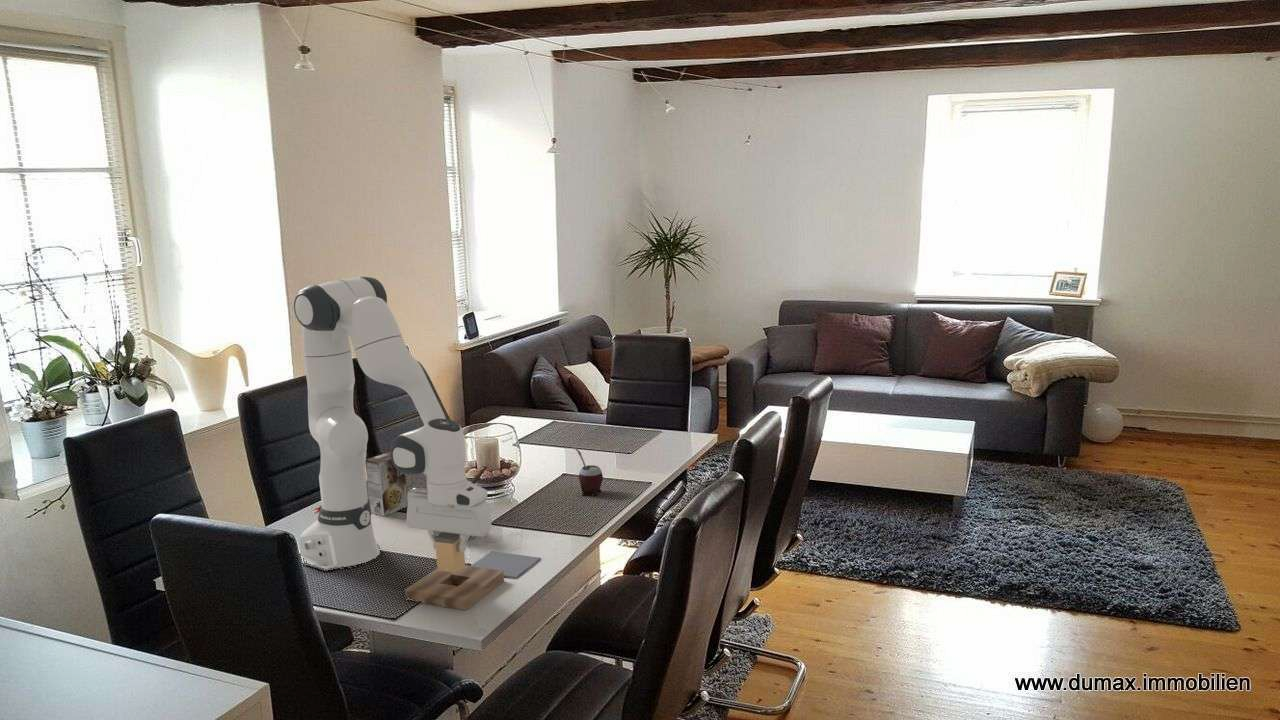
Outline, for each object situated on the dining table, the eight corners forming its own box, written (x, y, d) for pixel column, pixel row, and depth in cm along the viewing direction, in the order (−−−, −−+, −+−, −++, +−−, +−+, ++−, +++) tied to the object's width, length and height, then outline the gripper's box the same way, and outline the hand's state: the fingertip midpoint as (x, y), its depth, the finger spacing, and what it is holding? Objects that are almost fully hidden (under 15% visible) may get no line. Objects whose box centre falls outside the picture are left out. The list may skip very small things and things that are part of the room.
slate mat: (465, 571, 223) (465, 569, 223) (492, 552, 234) (492, 550, 234) (515, 578, 217) (515, 577, 217) (540, 559, 228) (540, 557, 228)
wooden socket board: (405, 600, 208) (404, 589, 208) (446, 572, 223) (445, 562, 222) (465, 610, 202) (464, 599, 202) (504, 581, 216) (503, 570, 216)
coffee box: (394, 503, 274) (389, 450, 270) (409, 507, 270) (404, 453, 267) (369, 512, 266) (364, 459, 263) (384, 516, 263) (378, 462, 260)
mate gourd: (607, 494, 274) (605, 445, 272) (584, 499, 270) (581, 450, 268) (595, 487, 281) (593, 440, 278) (572, 493, 277) (569, 444, 274)
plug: (437, 570, 210) (434, 537, 208) (448, 562, 214) (445, 529, 212) (454, 572, 209) (451, 539, 207) (465, 564, 213) (462, 531, 211)
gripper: (399, 490, 208) (402, 549, 211) (479, 500, 202) (482, 560, 204) (415, 482, 214) (417, 539, 217) (493, 491, 208) (495, 550, 210)
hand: (449, 549), depth 210 cm, fingers closed on plug, 4 cm apart
